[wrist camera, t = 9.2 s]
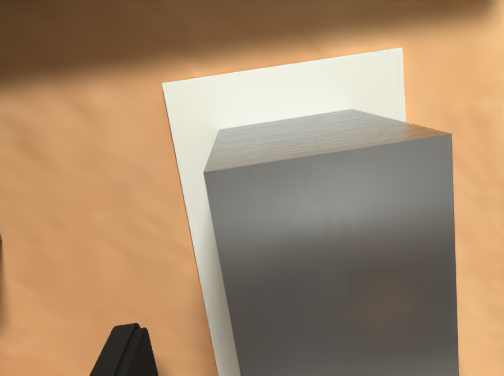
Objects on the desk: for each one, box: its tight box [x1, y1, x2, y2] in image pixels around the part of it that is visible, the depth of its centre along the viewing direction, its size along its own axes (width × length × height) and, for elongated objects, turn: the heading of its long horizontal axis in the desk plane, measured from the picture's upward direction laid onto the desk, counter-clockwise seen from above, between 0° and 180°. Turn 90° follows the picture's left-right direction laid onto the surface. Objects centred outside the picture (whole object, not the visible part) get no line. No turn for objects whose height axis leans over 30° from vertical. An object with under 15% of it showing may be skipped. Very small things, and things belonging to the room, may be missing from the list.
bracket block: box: [203, 109, 459, 376], centre depth 11 cm, size 11×4×6 cm, turn 9°
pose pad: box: [162, 47, 406, 376], centre depth 14 cm, size 7×14×1 cm, turn 8°
